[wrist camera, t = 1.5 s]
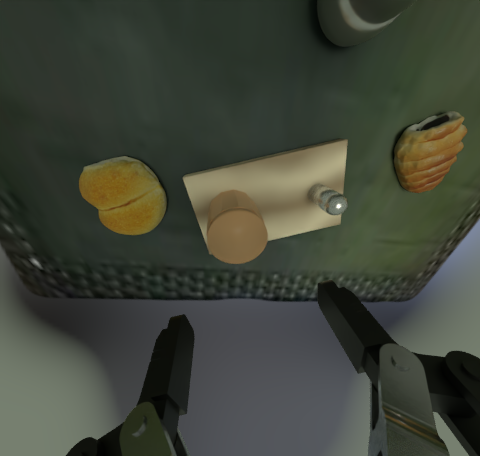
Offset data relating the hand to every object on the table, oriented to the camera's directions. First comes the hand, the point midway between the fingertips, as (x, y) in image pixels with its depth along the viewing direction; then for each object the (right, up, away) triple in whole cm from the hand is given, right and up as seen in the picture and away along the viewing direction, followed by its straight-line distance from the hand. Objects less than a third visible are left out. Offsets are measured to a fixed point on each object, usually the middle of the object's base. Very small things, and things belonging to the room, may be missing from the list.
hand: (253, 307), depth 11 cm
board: (+3, +9, +14) cm, 16 cm away
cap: (-2, +7, +12) cm, 14 cm away
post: (+9, +9, +12) cm, 18 cm away
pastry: (+22, +15, +13) cm, 30 cm away
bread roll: (-14, +9, +11) cm, 20 cm away
